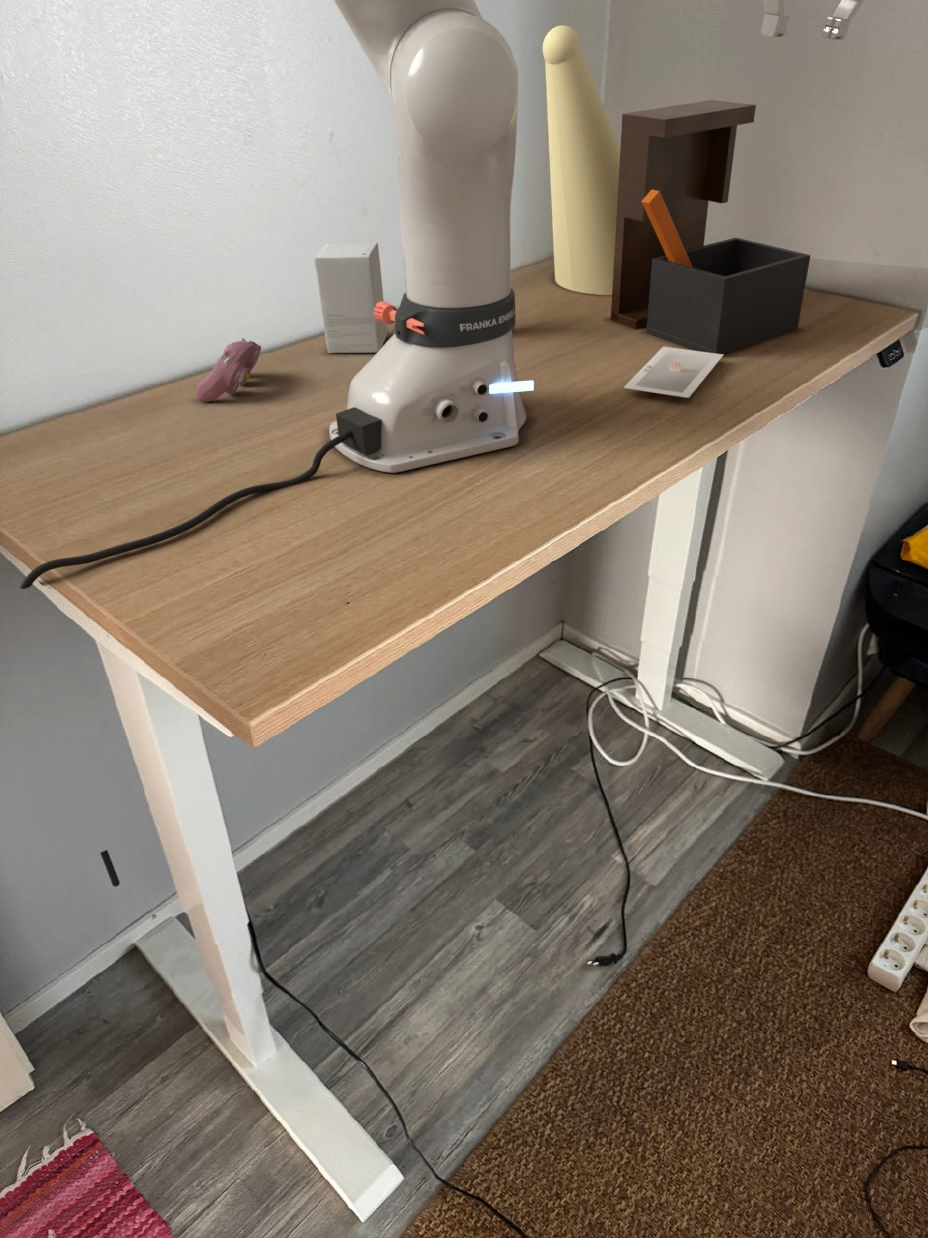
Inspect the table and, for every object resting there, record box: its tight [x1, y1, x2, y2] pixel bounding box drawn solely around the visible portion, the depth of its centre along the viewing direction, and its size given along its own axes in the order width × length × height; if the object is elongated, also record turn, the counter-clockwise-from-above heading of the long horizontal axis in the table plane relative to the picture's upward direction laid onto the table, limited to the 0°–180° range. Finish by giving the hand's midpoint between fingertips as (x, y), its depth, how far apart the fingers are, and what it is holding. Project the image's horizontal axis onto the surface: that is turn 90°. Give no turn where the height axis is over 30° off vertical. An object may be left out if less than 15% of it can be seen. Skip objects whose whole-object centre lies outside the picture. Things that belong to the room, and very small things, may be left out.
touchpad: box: [623, 346, 724, 399], centre depth 111 cm, size 8×15×2 cm, turn 152°
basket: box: [646, 237, 812, 356], centre depth 122 cm, size 16×13×10 cm
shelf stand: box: [610, 99, 757, 330], centre depth 124 cm, size 16×8×26 cm, turn 125°
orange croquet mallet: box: [642, 190, 693, 268], centre depth 117 cm, size 6×21×5 cm
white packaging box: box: [313, 241, 388, 354], centre depth 122 cm, size 7×7×13 cm
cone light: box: [542, 24, 620, 296], centre depth 135 cm, size 25×18×35 cm
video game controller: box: [195, 337, 262, 403], centre depth 113 cm, size 10×5×7 cm, turn 168°
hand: (802, 37), depth 91 cm, fingers open, 8 cm apart
